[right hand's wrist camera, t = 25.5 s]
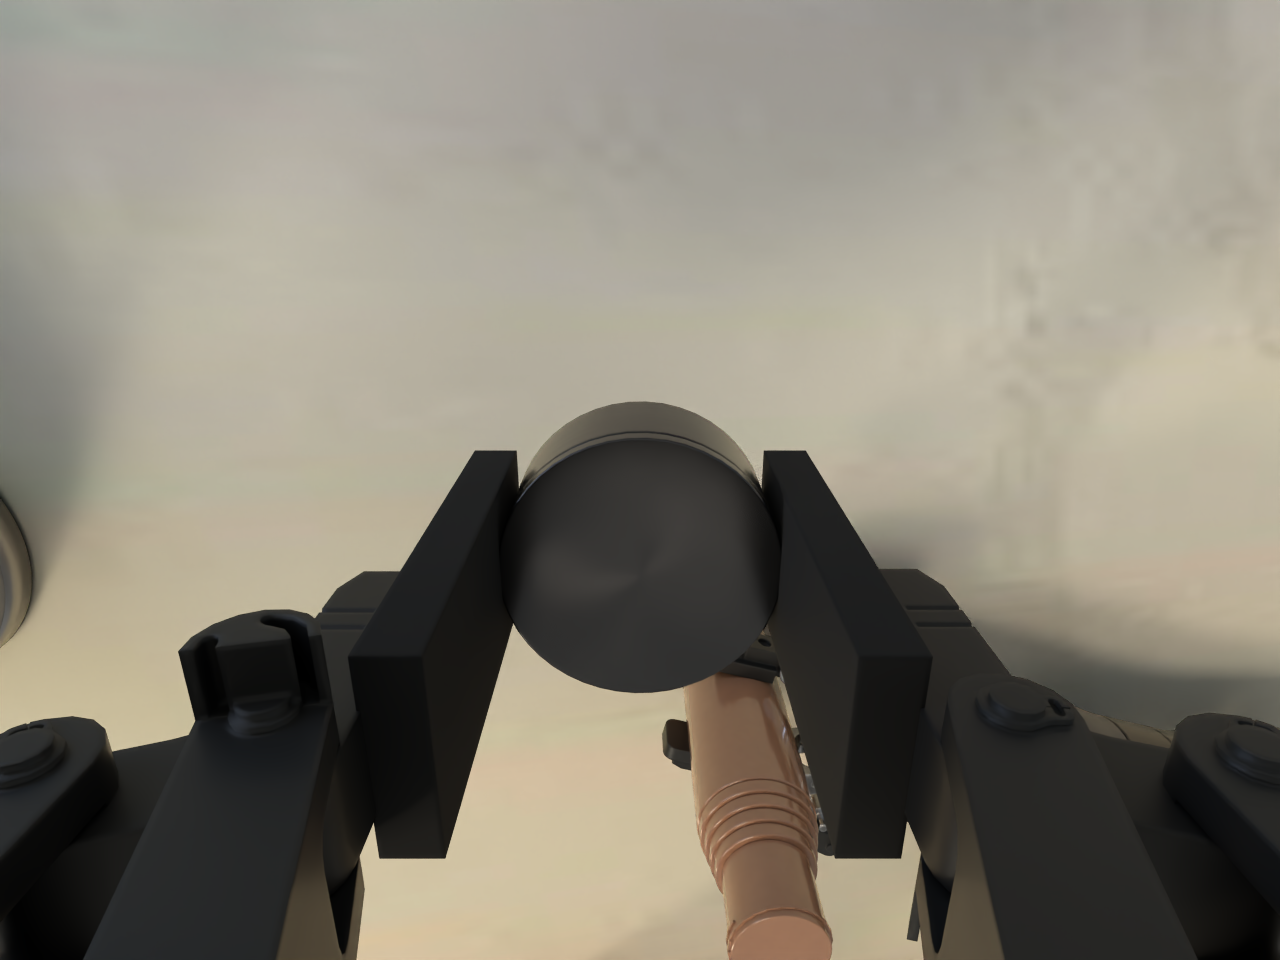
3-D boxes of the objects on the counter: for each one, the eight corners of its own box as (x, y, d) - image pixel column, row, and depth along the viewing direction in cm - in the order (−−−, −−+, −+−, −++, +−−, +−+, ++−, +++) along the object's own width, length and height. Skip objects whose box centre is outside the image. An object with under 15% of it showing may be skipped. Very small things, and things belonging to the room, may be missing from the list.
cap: (473, 553, 15) (446, 612, 13) (599, 350, 13) (592, 381, 11) (675, 663, 15) (680, 735, 13) (813, 484, 14) (841, 534, 12)
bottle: (694, 583, 43) (740, 885, 24) (774, 607, 43) (877, 919, 25) (666, 653, 44) (689, 985, 26) (743, 674, 45) (819, 1015, 26)
